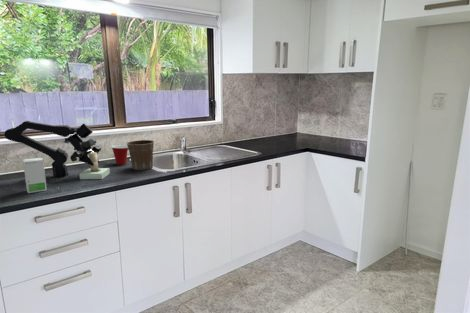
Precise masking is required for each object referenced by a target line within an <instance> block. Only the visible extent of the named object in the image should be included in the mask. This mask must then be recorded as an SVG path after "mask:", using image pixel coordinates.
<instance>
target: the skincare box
mask: <svg viewBox="0 0 470 313" xmlns="http://www.w3.org/2000/svg"><path fill="white" fill-rule="evenodd" d="M22 163H23V164H22V165H23V170H24V171H23V172H24V178H25V180H24V182H25V187H26V188H25V189H26V191H27V193H28V194H31V193H39V192H45V191H48V190H47V179H46V172H45V165H44V159H43V157H38V158H36V157H35V158H26V159H25V158H24V159H22Z"/></svg>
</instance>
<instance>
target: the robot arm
mask: <svg viewBox="0 0 470 313" xmlns="http://www.w3.org/2000/svg"><path fill="white" fill-rule="evenodd" d="M26 130H32V131H41V132H45V133H46V132H47V133H50V134H51V133H52V134H55V135H57V136H60V137H63V138H64V142H63V143H65V144H71V146H72V147H73V150H74V151H73V153H72V154H71V156H70V159H69V154H68V153H67V151H66V150H63V149H61V148H60V147H58V148H57V149H54V148H52V147H49V146H48V145H45V144H44V143H41V142H39V141H37V140H35V139H34V138H31V137H29V136H28V135H27V134H25V133H24V132H25V131H26ZM92 133H93V130H92V128H90V127H89V126H88V125H86V124H85V123H81V125H80V126H79V127H78V128H75V127H71V126H69V125H68V124H67V125H63V124H61V125H59V124H56V125H52V124H46V123H41V122H34V121H30V120H25V121H23V122H21V123H20V124H19V125H17V126H15V127H11V128H8V129H6V130H5V132H4V137H5V139H6V140H9V141H12V142H13V143H14V142H15V143H20V144H23V145H25V146H28V147H30V148H32V149H34V150H36V151H37V152H39V153H42V154H44V155H46V156H48V157H50V158H51V160H53V161H52V163H51V169H52V176H51V178H65V177H66V176H69V172H68V167H67V164H66V163H67V161H68V159H69V160H71V162H77V161H78V162H80V163H85V164H86V165H89V166H90V165H92V166H93V165H94V164H93V162H92V161H91V160H90V158H89V153H92V152H97V155H98V154H99V153H100V152H101V150H102V147H101V146H100V145H96V144H97V140H96V139H95V138H94V137H91V138H89V139H88V140H84V141H83V140H82V139H87V137H89V136H90V135H91V134H92ZM97 159H98V165H99V164H100V160H99V158H98V157H97Z"/></svg>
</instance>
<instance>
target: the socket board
mask: <svg viewBox="0 0 470 313" xmlns="http://www.w3.org/2000/svg"><path fill="white" fill-rule="evenodd" d="M98 169H99V170H98V172H92V171H91V167H90V168H87V169H85V170H84V171H82V172H80V173H79V180H103V179H104V178H105V177H107V176H108V175H110V174H111V171H110V167H106V168H105V167H104V168H103V167H98Z"/></svg>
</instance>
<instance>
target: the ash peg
mask: <svg viewBox="0 0 470 313" xmlns="http://www.w3.org/2000/svg"><path fill="white" fill-rule="evenodd" d="M88 157H89V158H90V160H91V161H92V162H93V164H94V165H93V166H92V165H89V166H90V168H91V171H92V172H98V170H99V169H98V168H99V164H98V160H99V158H98V154H97V152H92V153H89V155H88ZM97 158H98V159H97Z"/></svg>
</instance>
